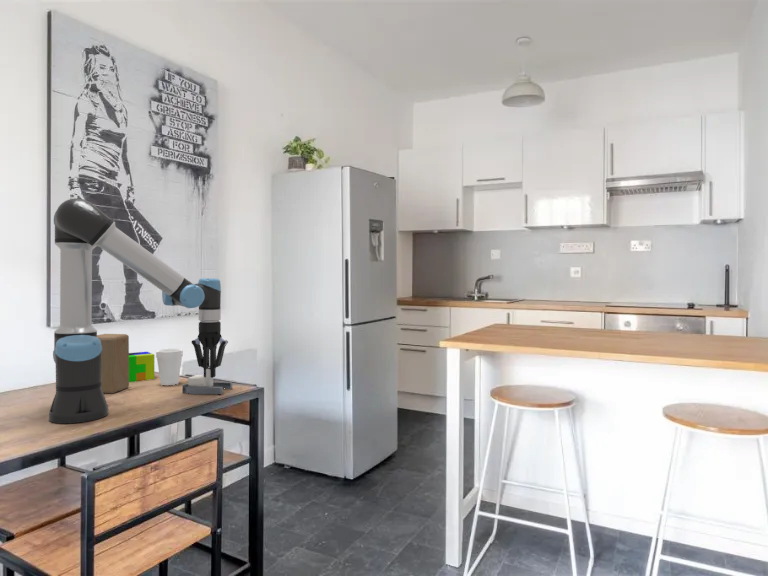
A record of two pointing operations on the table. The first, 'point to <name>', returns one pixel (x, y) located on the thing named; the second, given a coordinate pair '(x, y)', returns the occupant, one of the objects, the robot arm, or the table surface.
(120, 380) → the wooden block
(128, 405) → the table surface
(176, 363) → the foam cup
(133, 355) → the puzzle toy
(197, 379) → the block
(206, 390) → the chute
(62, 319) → the robot arm
